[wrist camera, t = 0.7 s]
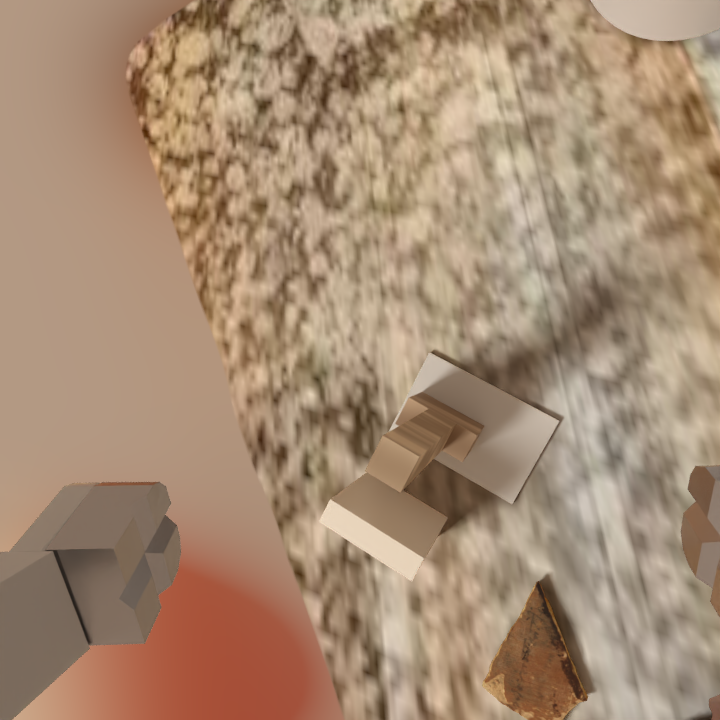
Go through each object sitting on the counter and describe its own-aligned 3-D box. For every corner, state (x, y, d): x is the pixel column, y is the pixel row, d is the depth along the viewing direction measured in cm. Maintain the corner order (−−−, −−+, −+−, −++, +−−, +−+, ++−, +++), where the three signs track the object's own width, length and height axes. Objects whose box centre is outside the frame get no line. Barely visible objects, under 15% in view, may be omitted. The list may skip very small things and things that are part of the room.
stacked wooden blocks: (422, 391, 52) (356, 419, 35) (484, 425, 50) (447, 473, 33) (409, 415, 52) (338, 455, 35) (471, 450, 51) (428, 509, 34)
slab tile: (369, 470, 54) (330, 499, 45) (448, 517, 52) (424, 558, 43) (359, 490, 55) (318, 523, 45) (436, 538, 52) (410, 583, 43)
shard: (538, 574, 50) (537, 582, 49) (626, 625, 48) (629, 636, 47) (479, 677, 52) (477, 689, 51) (562, 731, 50) (562, 745, 49)
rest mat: (430, 352, 52) (429, 352, 52) (559, 420, 49) (559, 421, 48) (389, 432, 53) (388, 432, 53) (512, 503, 50) (512, 504, 50)
